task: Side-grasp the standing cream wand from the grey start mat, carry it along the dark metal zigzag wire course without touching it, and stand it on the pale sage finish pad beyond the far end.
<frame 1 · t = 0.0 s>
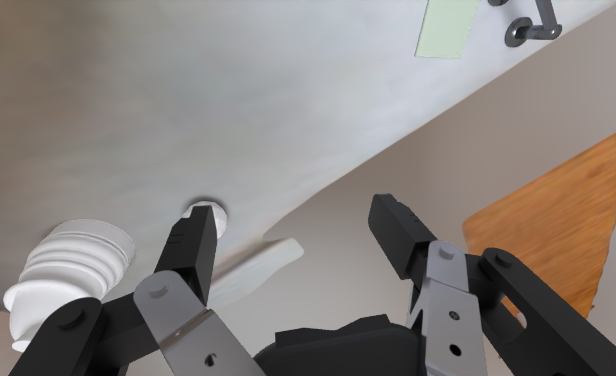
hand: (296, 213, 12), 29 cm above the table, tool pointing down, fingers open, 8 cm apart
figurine: (196, 232, 48), on the table
honey pot: (95, 245, 45), on the table
dixie cup: (522, 313, 100), on the table
finish pad: (446, 26, 36), on the table
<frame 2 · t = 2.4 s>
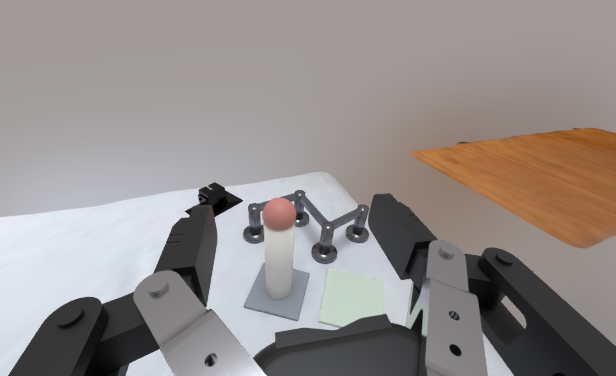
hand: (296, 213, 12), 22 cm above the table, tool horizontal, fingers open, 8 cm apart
wand: (278, 288, 33), resting on start mat
start mat: (278, 289, 33), on the table
wire course: (302, 240, 41), on the table
finish pad: (352, 300, 32), on the table
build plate: (215, 208, 48), on the table
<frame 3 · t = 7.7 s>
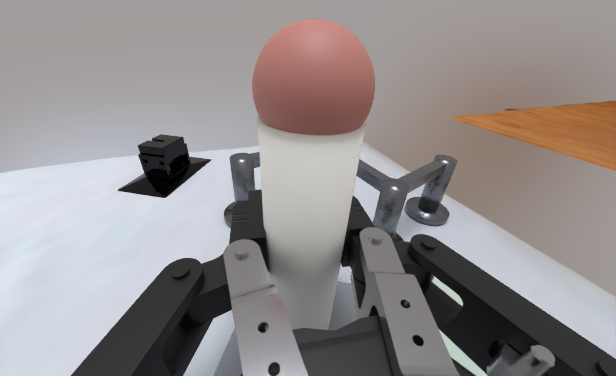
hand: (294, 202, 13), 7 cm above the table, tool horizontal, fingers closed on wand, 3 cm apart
wand: (299, 325, 14), resting on start mat, touching gripper
start mat: (298, 327, 14), on the table
wire course: (333, 223, 22), on the table
finish pad: (475, 349, 14), on the table
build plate: (171, 178, 29), on the table
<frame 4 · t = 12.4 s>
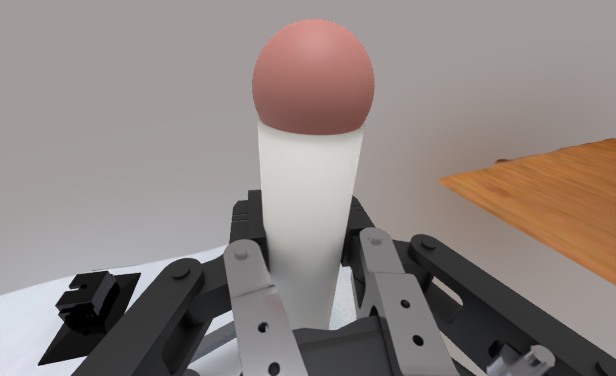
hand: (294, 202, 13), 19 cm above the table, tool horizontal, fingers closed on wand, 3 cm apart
wand: (298, 324, 14), point 12 cm above the table, touching gripper
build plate: (101, 314, 27), on the table
when the fingers open (8 cm above the table, at t = 17.3 s): wand drops 1 cm, resting on finish pad.
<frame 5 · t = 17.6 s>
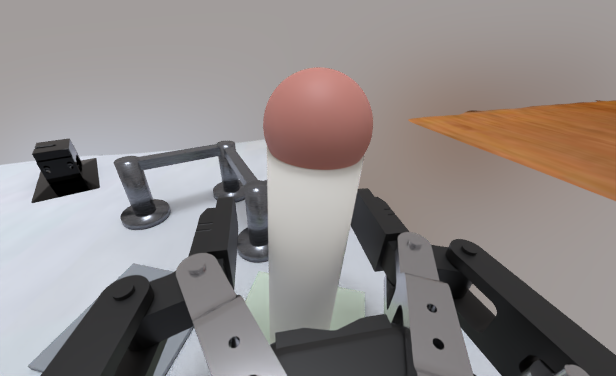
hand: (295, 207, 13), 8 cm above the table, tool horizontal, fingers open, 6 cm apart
wand: (298, 337, 15), resting on finish pad
start mat: (140, 319, 15), on the table
wire course: (228, 222, 24), on the table
finish pad: (297, 339, 15), on the table
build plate: (71, 182, 30), on the table
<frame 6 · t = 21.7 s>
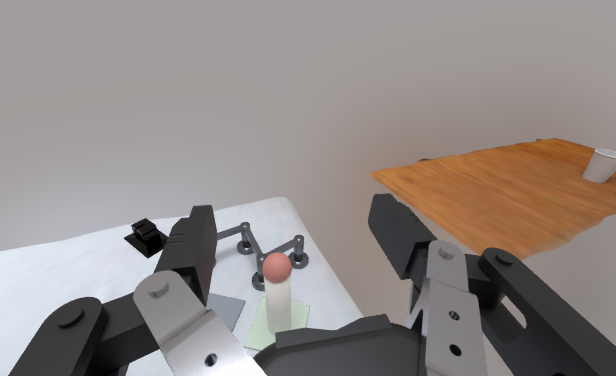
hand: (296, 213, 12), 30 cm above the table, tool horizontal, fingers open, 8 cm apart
wand: (279, 324, 37), resting on finish pad
start mat: (214, 317, 38), on the table
wire course: (246, 268, 46), on the table
dixie cup: (592, 179, 87), on the table
finish pad: (279, 325, 37), on the table
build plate: (149, 242, 51), on the table
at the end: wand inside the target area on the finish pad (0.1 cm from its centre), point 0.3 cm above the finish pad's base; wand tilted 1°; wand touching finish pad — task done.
